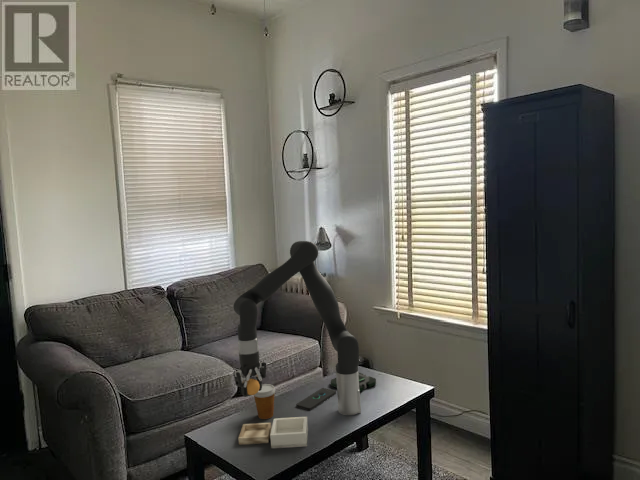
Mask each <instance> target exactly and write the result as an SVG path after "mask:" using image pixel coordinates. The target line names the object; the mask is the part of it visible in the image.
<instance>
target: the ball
mask: <svg viewBox="0 0 640 480" xmlns="http://www.w3.org/2000/svg"><path fill="white" fill-rule="evenodd" d="M246 387H247V394H248V396H254V394H256V393H257V392H258V391H259V388H260V385H259V382H258V381H257V380H256V378H249V381H248V382H247V385H246Z"/></svg>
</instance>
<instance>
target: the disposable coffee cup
mask: <svg viewBox="0 0 640 480" xmlns="http://www.w3.org/2000/svg"><path fill="white" fill-rule="evenodd" d="M275 392H276V388H275V386H274V385H273V384H268V383H264V384H263V383H262V389H261V391H258V392H257V393H256V394H254V395H253V398H254V403H255V407H256V411H257V416H258V418H259V419H261V420H268V419H271V418H273V416H274V412H275V411H274V409H275V394H276V393H275Z"/></svg>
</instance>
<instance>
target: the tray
mask: <svg viewBox="0 0 640 480" xmlns="http://www.w3.org/2000/svg"><path fill="white" fill-rule="evenodd" d="M271 429H272V422H258V423H256V422H255V423H243V424H242V427H241V430H240V433H239V435H238V445H239V446H240V445H256V444H258V445H260V444H269V441H270V439H271V438H270V434H271Z"/></svg>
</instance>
